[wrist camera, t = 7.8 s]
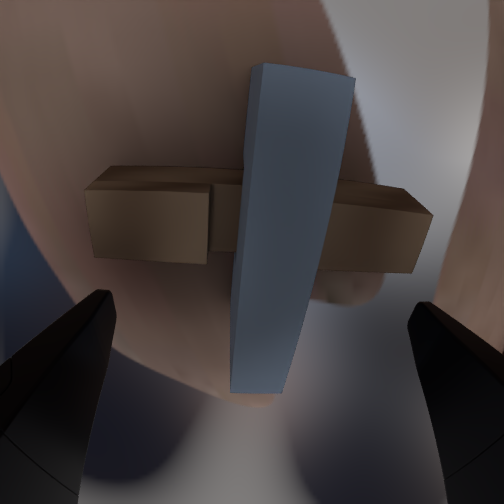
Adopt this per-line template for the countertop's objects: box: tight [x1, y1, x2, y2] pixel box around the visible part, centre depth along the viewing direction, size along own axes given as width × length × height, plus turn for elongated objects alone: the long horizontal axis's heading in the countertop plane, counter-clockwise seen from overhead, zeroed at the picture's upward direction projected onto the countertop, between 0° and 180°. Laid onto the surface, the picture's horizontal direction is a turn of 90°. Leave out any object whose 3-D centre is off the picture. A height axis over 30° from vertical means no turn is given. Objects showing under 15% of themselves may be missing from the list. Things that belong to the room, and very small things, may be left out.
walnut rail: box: [84, 166, 433, 273], centre depth 13 cm, size 14×3×3 cm, turn 85°
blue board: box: [230, 63, 356, 393], centre depth 12 cm, size 2×12×6 cm, turn 175°
